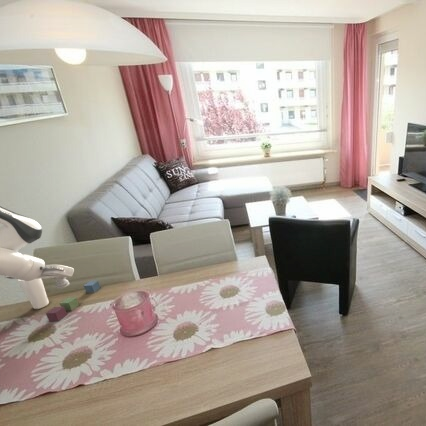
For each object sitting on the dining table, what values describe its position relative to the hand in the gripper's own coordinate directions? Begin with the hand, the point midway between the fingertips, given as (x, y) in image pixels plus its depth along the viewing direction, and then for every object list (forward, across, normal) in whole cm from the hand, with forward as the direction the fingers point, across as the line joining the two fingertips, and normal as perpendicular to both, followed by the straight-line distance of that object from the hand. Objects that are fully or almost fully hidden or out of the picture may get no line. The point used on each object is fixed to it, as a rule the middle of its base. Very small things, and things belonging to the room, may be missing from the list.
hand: (60, 276), depth 122 cm
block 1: (+6, 0, +16) cm, 17 cm away
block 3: (+19, 0, +2) cm, 20 cm away
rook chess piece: (+3, 0, +4) cm, 5 cm away
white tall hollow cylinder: (+12, +16, +10) cm, 22 cm away
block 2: (+10, 0, +11) cm, 15 cm away
